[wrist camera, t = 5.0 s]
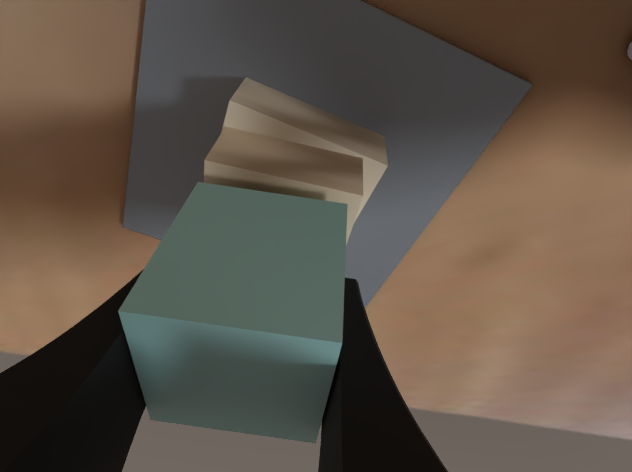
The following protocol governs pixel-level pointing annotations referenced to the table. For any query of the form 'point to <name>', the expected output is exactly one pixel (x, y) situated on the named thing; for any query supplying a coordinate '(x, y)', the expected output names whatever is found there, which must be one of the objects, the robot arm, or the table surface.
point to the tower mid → (285, 169)
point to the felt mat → (322, 92)
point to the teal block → (241, 313)
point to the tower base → (306, 128)
